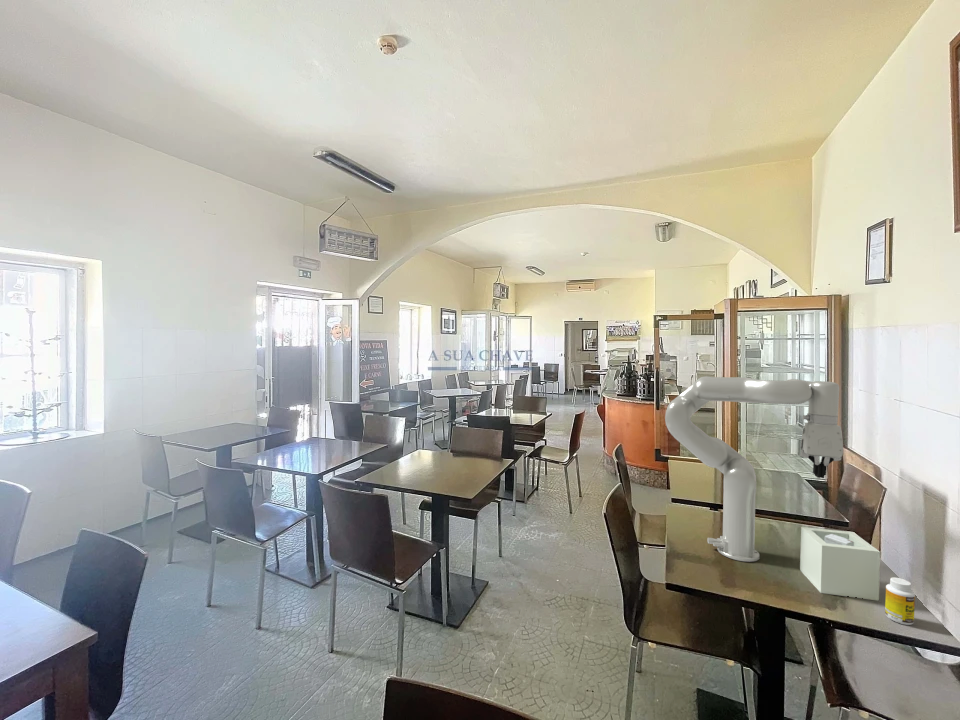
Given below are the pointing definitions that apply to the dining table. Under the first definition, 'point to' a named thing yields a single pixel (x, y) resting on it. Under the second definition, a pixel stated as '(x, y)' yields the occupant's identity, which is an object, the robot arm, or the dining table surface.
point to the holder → (840, 564)
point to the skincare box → (838, 540)
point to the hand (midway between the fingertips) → (819, 476)
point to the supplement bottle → (900, 601)
